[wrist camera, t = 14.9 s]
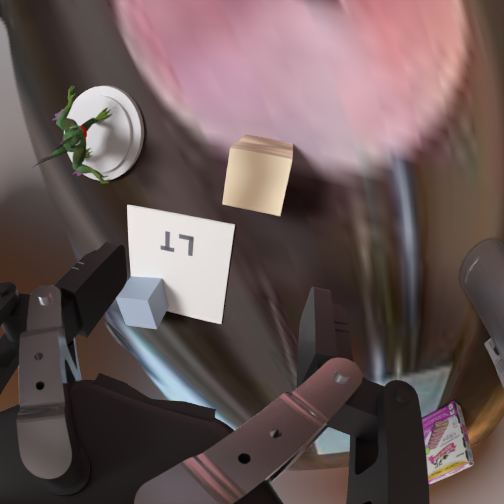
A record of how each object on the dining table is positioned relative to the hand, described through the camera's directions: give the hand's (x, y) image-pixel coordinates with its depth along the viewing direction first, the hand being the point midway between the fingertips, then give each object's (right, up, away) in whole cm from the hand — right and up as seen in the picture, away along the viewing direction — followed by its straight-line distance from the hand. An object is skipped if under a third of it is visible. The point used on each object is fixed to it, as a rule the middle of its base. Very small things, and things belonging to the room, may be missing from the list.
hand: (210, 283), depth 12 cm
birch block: (+3, +11, +19) cm, 22 cm away
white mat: (-8, -1, +27) cm, 29 cm away
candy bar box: (+43, -35, +39) cm, 68 cm away
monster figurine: (-16, +16, +20) cm, 30 cm away
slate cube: (-13, -4, +30) cm, 33 cm away
